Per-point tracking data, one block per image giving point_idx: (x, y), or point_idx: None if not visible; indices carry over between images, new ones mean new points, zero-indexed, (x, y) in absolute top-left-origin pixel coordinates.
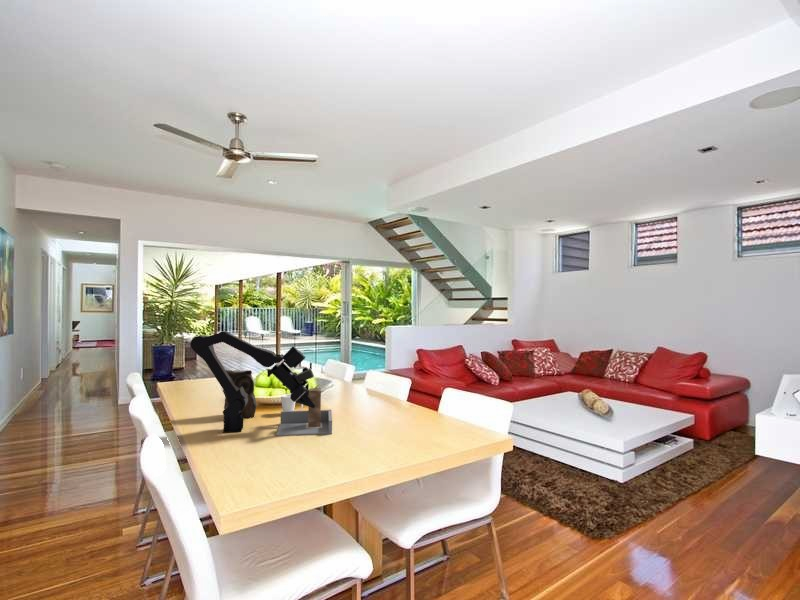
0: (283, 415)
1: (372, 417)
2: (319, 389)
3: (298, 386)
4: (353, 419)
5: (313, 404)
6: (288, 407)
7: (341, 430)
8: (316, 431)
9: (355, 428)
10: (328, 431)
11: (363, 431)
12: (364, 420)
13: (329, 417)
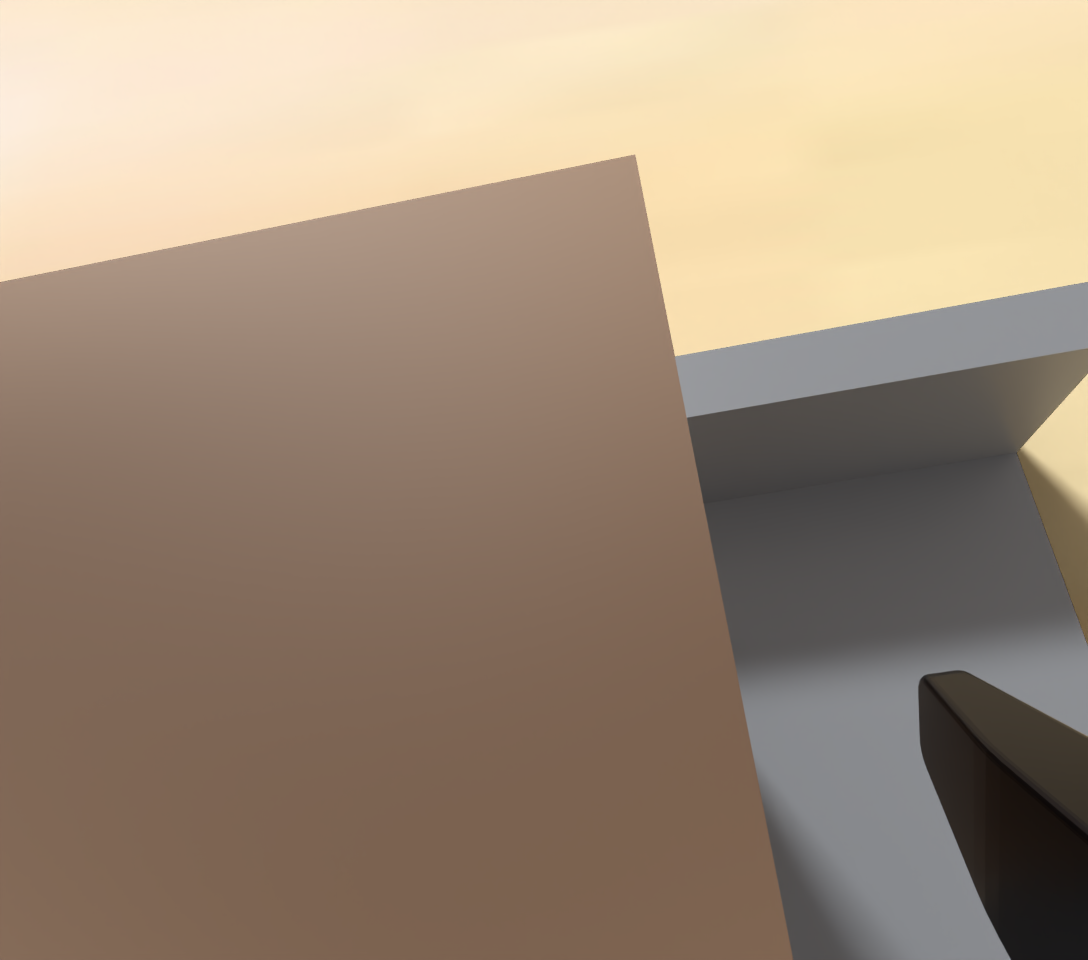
0: None
1: (133, 55)
2: (203, 331)
3: None
4: (182, 245)
5: (1049, 723)
6: None
7: (757, 311)
8: (988, 682)
9: (641, 155)
10: (951, 465)
11: (781, 49)
12: (256, 115)
13: (822, 379)
